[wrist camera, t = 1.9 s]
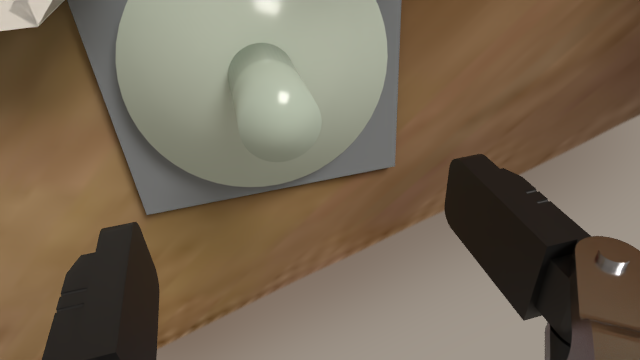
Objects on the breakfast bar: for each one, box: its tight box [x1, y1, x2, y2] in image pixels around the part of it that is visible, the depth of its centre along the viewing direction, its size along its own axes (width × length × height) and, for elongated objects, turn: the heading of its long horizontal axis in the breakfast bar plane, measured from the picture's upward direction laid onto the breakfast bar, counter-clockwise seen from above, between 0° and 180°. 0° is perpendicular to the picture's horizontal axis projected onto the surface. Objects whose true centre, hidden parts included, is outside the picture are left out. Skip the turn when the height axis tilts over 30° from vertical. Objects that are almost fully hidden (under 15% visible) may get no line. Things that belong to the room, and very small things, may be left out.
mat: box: [67, 0, 401, 215], centre depth 21 cm, size 14×14×1 cm
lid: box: [116, 0, 388, 187], centre depth 18 cm, size 12×12×6 cm
